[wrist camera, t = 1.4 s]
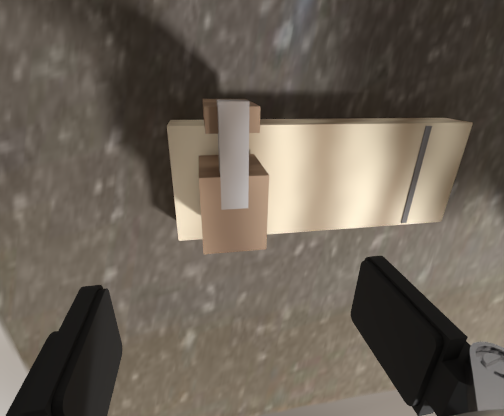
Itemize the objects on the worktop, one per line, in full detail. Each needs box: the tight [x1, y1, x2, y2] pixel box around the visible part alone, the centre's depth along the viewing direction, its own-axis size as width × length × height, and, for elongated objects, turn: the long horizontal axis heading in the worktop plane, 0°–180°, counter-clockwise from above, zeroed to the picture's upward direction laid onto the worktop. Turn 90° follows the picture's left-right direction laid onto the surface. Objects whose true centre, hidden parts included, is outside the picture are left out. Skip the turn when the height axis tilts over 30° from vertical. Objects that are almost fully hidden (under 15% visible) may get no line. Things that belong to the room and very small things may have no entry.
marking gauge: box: [199, 99, 269, 254], centre depth 19 cm, size 4×9×6 cm, turn 179°
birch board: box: [167, 118, 473, 241], centre depth 25 cm, size 24×9×3 cm, turn 89°
